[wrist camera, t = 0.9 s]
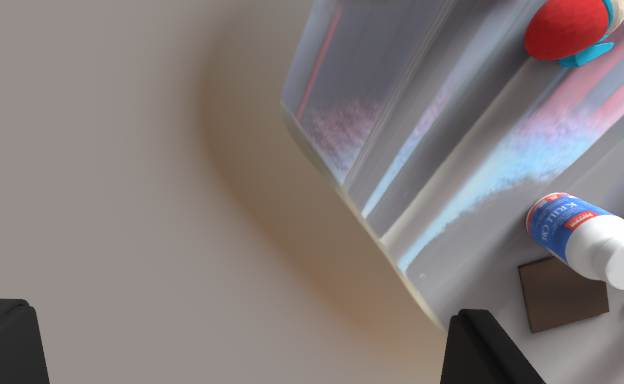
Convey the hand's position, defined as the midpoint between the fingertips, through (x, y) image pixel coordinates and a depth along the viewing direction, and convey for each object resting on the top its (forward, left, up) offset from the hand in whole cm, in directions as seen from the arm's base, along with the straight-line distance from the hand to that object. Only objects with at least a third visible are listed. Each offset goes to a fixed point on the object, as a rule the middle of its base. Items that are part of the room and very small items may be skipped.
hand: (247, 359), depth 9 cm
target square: (+23, +22, -27) cm, 41 cm away
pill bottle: (+15, +22, -27) cm, 38 cm away
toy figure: (-3, +28, -27) cm, 39 cm away
